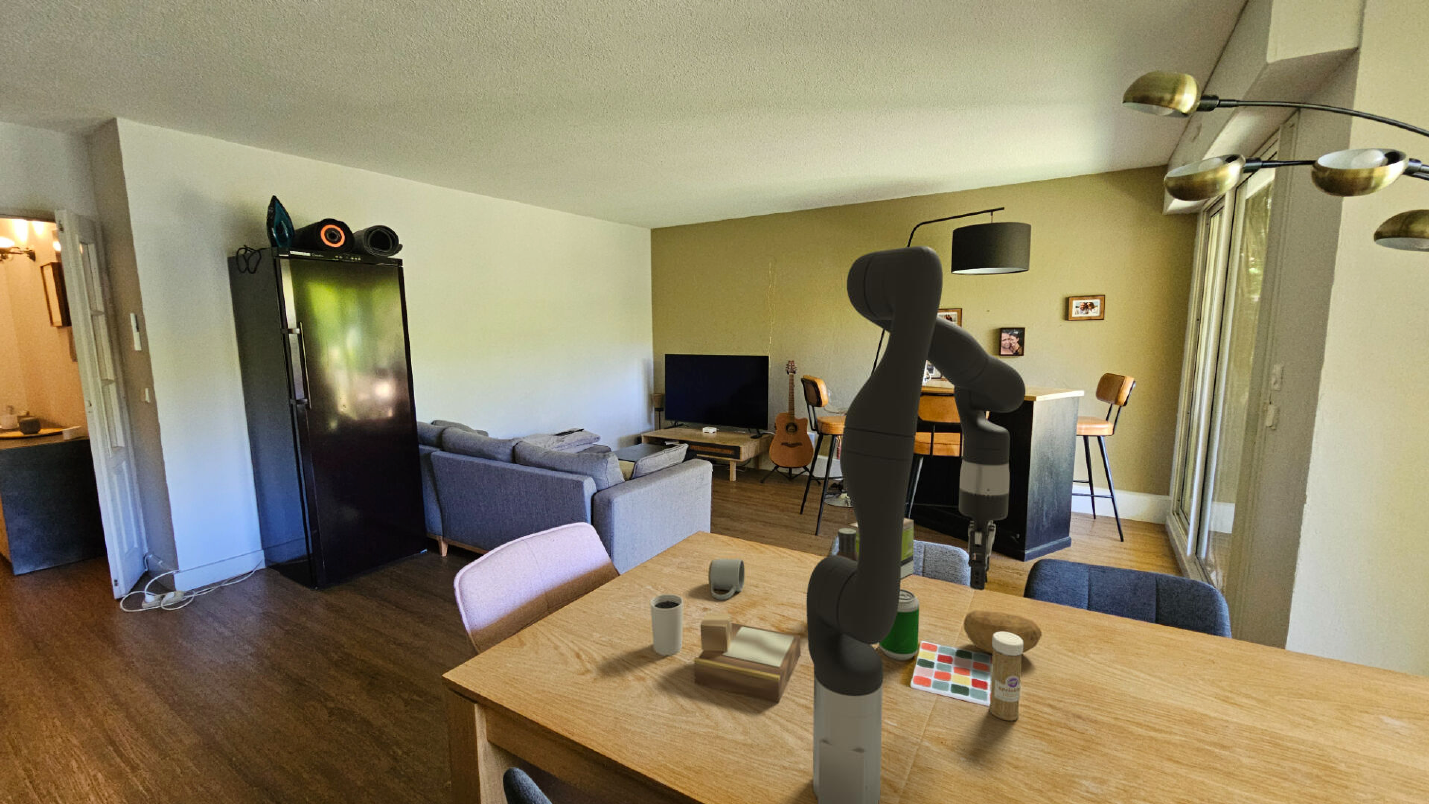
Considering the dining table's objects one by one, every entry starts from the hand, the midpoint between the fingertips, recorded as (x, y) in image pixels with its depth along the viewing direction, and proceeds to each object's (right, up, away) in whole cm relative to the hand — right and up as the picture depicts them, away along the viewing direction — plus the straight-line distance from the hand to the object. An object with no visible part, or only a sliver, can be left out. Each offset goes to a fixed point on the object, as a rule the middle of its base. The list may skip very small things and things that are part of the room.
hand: (979, 579), depth 99 cm
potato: (+11, -20, +16) cm, 28 cm away
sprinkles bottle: (+3, -22, -2) cm, 22 cm away
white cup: (-55, -20, +19) cm, 62 cm away
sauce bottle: (-16, -18, +31) cm, 39 cm away
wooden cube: (-46, -14, +10) cm, 49 cm away
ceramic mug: (-43, -17, +45) cm, 64 cm away
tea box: (-2, -15, +52) cm, 54 cm away
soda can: (-9, -20, +16) cm, 27 cm away
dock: (-39, -21, +11) cm, 46 cm away
